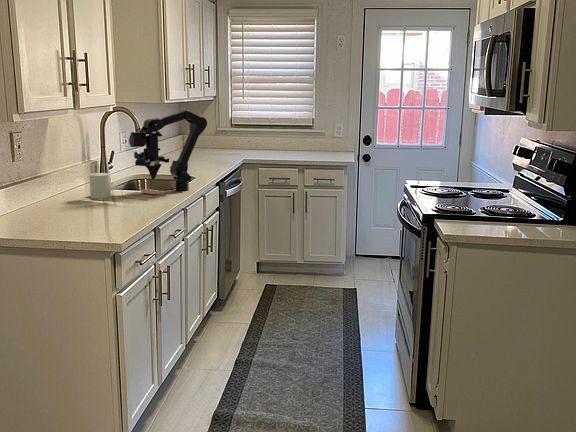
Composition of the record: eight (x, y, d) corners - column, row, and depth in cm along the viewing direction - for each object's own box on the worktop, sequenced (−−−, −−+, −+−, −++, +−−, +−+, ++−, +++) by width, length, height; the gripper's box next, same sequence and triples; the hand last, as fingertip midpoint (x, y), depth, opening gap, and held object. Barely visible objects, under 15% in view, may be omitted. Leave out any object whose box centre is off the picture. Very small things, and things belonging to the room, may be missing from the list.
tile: (140, 192, 275) (152, 193, 284) (154, 194, 272) (166, 194, 280) (141, 189, 275) (153, 189, 284) (154, 190, 272) (166, 191, 280)
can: (86, 199, 266) (84, 173, 264) (103, 196, 273) (102, 171, 271) (98, 201, 261) (96, 175, 258) (115, 199, 268) (114, 173, 265)
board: (136, 194, 280) (136, 192, 280) (166, 197, 273) (166, 195, 272) (114, 199, 267) (114, 196, 267) (146, 203, 259) (146, 200, 259)
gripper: (150, 143, 285) (151, 175, 288) (125, 146, 268) (126, 180, 271) (169, 145, 280) (170, 177, 283) (144, 148, 263) (145, 182, 267)
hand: (153, 179), depth 276 cm, fingers closed
